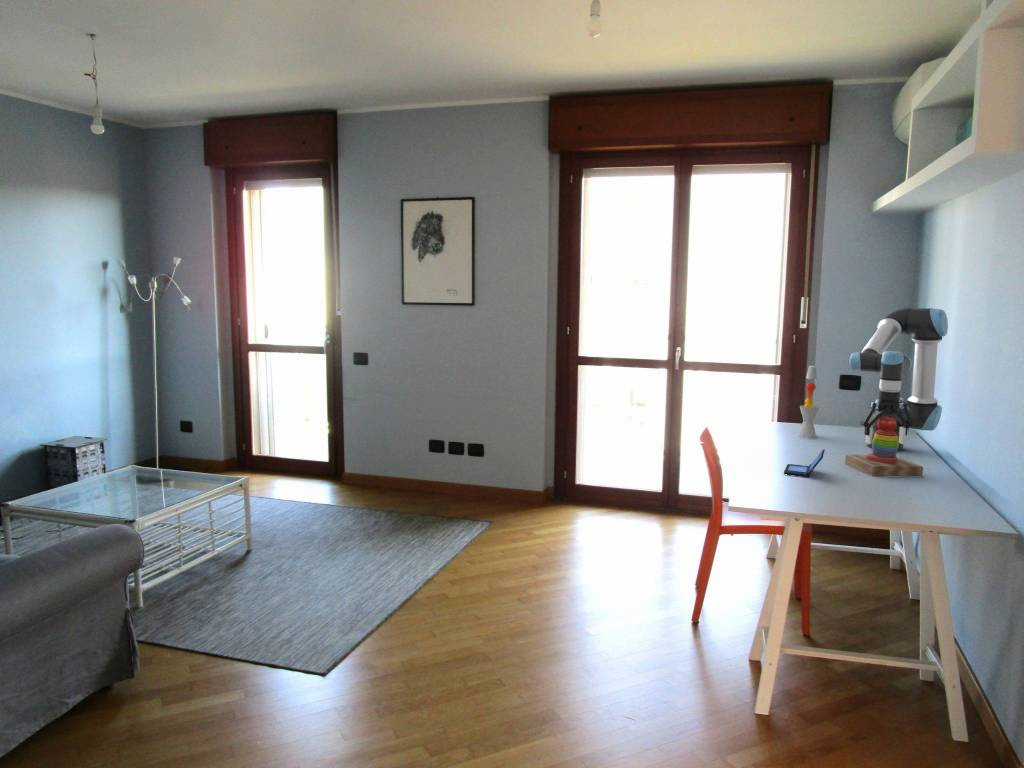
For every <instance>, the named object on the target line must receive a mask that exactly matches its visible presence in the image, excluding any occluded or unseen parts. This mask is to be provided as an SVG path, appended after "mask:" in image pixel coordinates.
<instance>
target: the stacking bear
mask: <svg viewBox="0 0 1024 768" xmlns="http://www.w3.org/2000/svg"><path fill="white" fill-rule="evenodd" d="M896 420H897V419H896V418H895V417H892V418H891V417H880V419H879V420H878V422H877V426H878V428H879V430H877V431H876V433H875V435H874V438H873V441H872V453H871V452H870V453H867V454H866V455H867V456H866V458H868V459H870V460H873V461H877V462H882V463H896V462H897V457H898V456H897V453H898V448H899V447H898V446H899V442H898V436H897V434H896V432H894V430H895V429H896V426H897V423H896Z"/></svg>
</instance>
